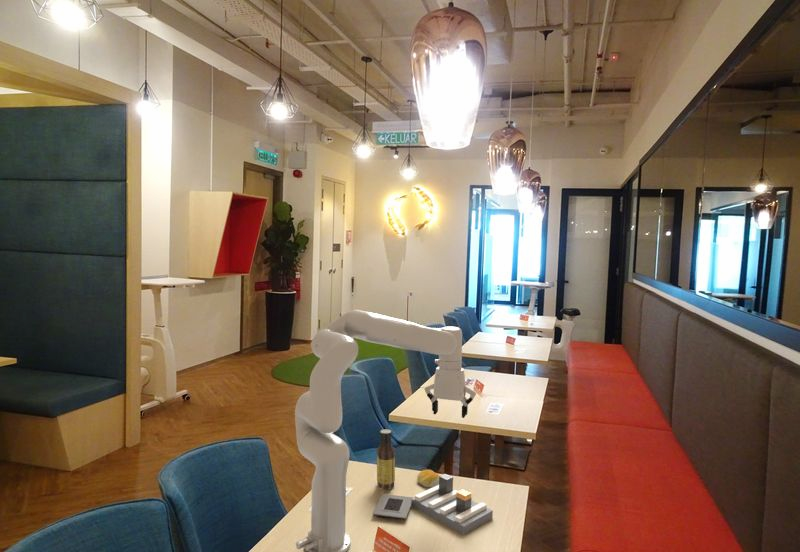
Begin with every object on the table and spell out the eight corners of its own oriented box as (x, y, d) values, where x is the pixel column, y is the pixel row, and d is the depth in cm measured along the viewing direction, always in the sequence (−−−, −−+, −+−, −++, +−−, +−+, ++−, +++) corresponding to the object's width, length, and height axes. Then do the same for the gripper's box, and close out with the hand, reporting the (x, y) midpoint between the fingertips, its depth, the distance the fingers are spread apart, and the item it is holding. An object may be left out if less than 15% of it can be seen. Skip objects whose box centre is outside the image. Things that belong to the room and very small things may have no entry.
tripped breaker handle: (464, 513, 162) (465, 496, 162) (456, 509, 165) (456, 492, 164) (470, 510, 164) (471, 493, 164) (462, 505, 167) (462, 489, 166)
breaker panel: (463, 534, 155) (464, 522, 155) (411, 506, 171) (411, 494, 171) (492, 518, 165) (492, 506, 165) (440, 492, 181) (440, 481, 181)
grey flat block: (405, 524, 161) (405, 516, 161) (372, 520, 163) (372, 512, 163) (413, 503, 174) (413, 496, 174) (382, 499, 176) (382, 492, 176)
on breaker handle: (446, 496, 173) (447, 479, 172) (438, 492, 175) (439, 476, 175) (452, 493, 175) (453, 477, 174) (444, 489, 177) (445, 473, 177)
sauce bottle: (385, 480, 190) (386, 426, 188) (398, 485, 185) (399, 430, 184) (372, 486, 185) (373, 430, 183) (386, 492, 181) (387, 435, 179)
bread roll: (430, 475, 195) (430, 464, 195) (445, 484, 187) (445, 473, 187) (412, 480, 190) (412, 469, 190) (426, 490, 183) (426, 479, 183)
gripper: (421, 364, 173) (421, 415, 175) (473, 369, 168) (472, 421, 169) (428, 359, 180) (427, 408, 182) (478, 364, 175) (477, 414, 176)
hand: (449, 414), depth 175 cm, fingers open, 9 cm apart
